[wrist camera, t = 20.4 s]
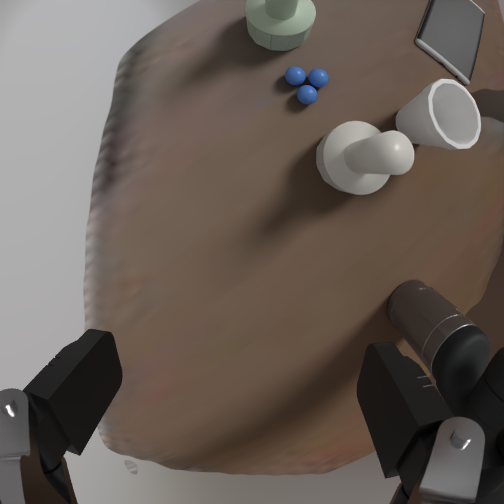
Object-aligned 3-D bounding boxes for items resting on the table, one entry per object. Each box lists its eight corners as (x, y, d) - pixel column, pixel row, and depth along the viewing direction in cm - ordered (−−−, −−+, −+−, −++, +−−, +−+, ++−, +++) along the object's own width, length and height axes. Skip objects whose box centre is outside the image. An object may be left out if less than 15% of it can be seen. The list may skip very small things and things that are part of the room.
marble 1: (303, 71, 37) (306, 64, 34) (304, 88, 38) (307, 82, 35) (284, 69, 37) (285, 63, 34) (284, 87, 38) (285, 81, 35)
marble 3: (325, 73, 37) (330, 67, 34) (326, 90, 38) (330, 85, 35) (306, 71, 37) (309, 64, 34) (307, 88, 38) (310, 82, 35)
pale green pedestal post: (308, 7, 33) (326, -54, 17) (310, 53, 36) (334, -2, 20) (247, 4, 34) (241, -59, 17) (246, 50, 36) (237, -9, 20)
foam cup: (393, 154, 40) (437, 150, 27) (380, 99, 37) (419, 77, 25) (438, 150, 39) (486, 147, 26) (426, 98, 37) (471, 82, 24)
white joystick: (377, 131, 39) (434, 114, 23) (375, 194, 42) (433, 207, 25) (315, 124, 39) (347, 95, 23) (314, 189, 42) (346, 199, 25)
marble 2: (315, 89, 38) (319, 83, 35) (315, 107, 39) (319, 102, 36) (295, 87, 38) (298, 81, 35) (295, 105, 39) (298, 100, 36)
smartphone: (411, 43, 35) (416, 40, 33) (436, -23, 28) (440, -26, 26) (465, 87, 36) (470, 85, 34) (481, 14, 29) (485, 12, 27)
